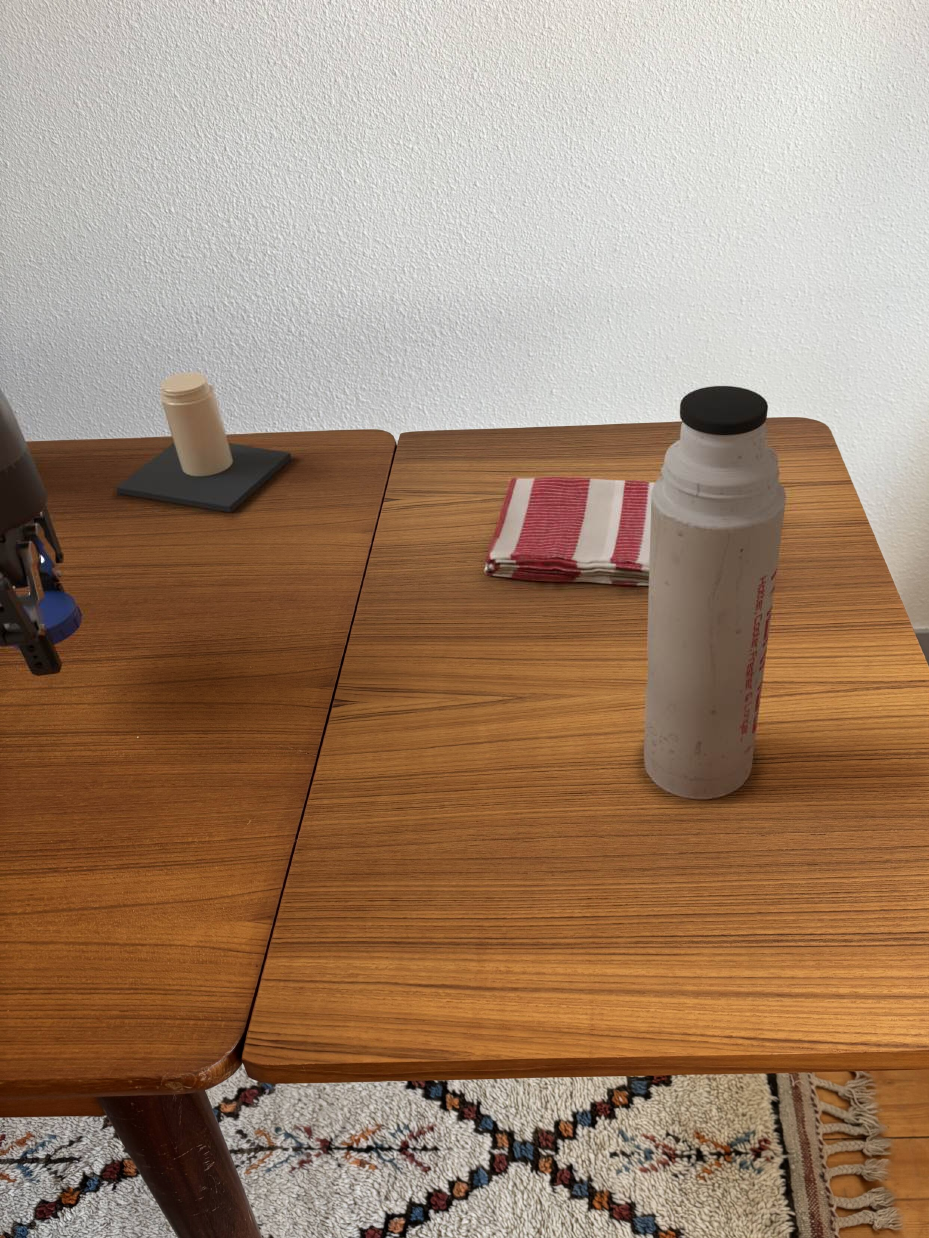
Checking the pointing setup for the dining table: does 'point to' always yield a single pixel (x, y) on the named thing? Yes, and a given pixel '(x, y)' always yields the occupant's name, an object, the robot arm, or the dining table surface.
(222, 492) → the mat
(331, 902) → the dining table surface
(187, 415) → the jar
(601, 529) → the dish towel
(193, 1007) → the dining table surface
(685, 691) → the thermos bottle
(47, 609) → the lid
